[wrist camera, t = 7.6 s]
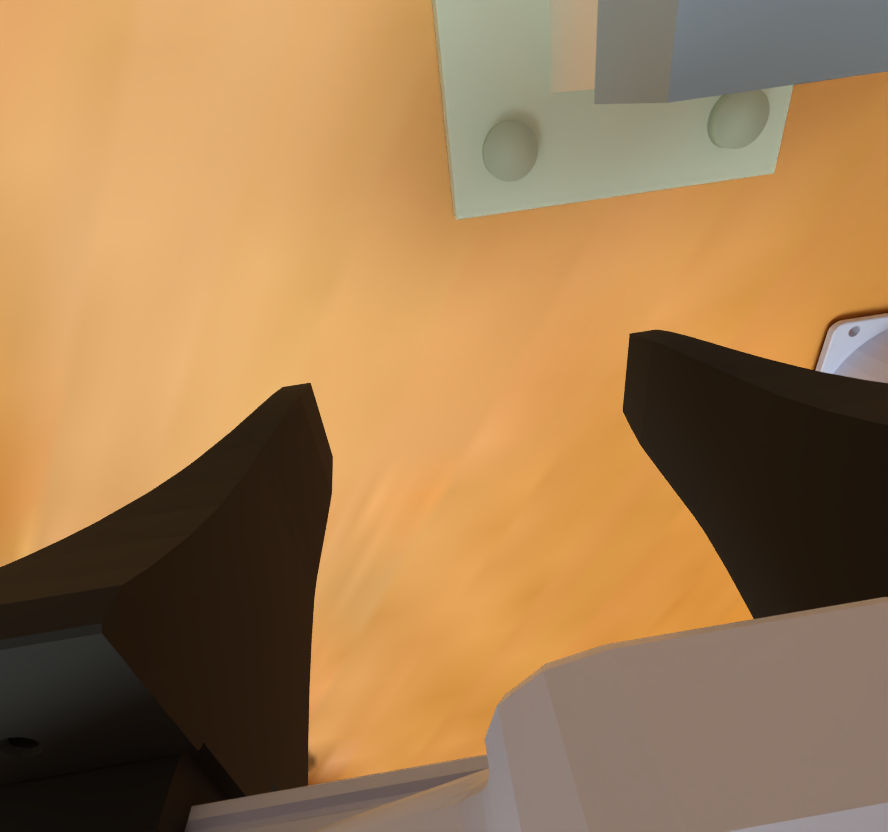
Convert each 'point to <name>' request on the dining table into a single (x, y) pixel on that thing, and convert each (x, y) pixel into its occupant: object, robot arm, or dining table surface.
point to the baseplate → (576, 122)
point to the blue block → (732, 46)
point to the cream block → (573, 44)
